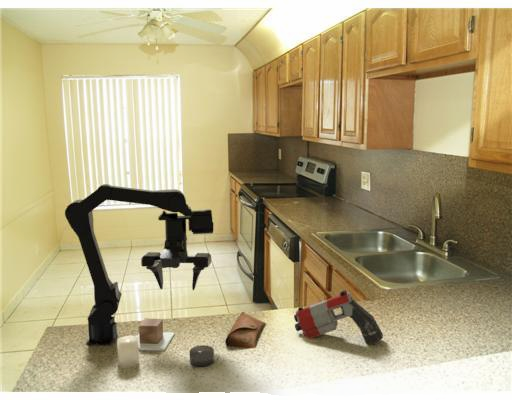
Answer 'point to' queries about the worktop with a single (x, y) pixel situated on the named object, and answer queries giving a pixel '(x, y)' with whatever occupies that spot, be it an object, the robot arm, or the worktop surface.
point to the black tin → (201, 356)
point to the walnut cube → (151, 331)
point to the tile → (161, 345)
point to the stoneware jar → (128, 351)
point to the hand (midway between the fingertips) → (177, 289)
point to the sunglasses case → (244, 332)
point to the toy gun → (336, 318)
